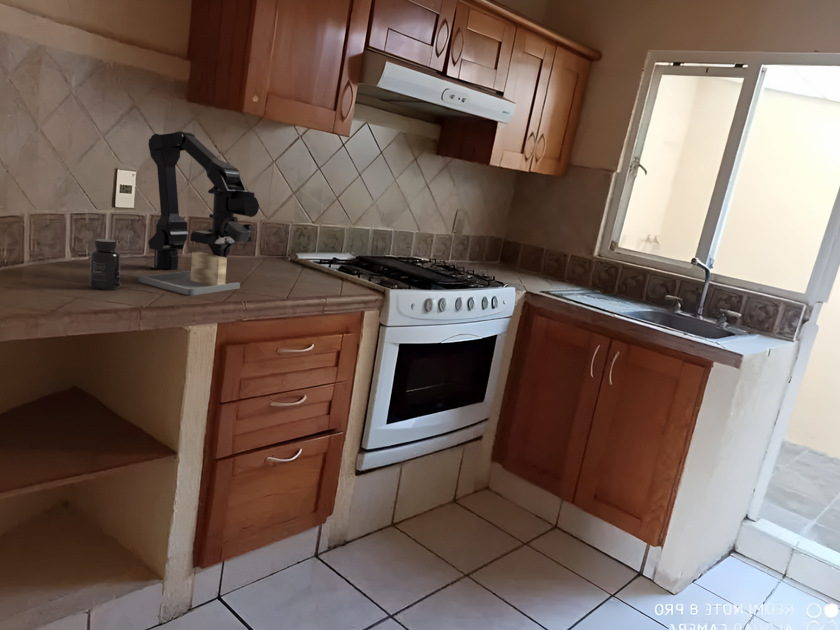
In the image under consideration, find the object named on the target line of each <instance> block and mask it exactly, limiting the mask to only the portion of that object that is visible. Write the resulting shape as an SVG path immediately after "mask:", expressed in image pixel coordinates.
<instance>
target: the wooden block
mask: <svg viewBox="0 0 840 630" xmlns="http://www.w3.org/2000/svg"><path fill="white" fill-rule="evenodd" d="M227 261H228V258H227V257H226V258H225V257H220V256H216V255H213V253H212V254H211V253H207V252H203V251H195V252H193V251H192V252H191V263H190V264H191V266H190V267H191V269H190V271H191V281H195V282H199V283H203V284H207V285H211V286H215V285H222V284H226V280H227V279H226V277H227V264H228V263H227Z"/></svg>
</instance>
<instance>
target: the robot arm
mask: <svg viewBox="0 0 840 630" xmlns="http://www.w3.org/2000/svg"><path fill="white" fill-rule="evenodd" d="M148 150H149V153H150V155H149V156H150V157H151V159H152V161H153V162H154V163H155V165H156V168H157V179H158V183H157V184H158V192H159V193H158V194H159V195H158V196H159V204H160V205H159V206H160V216H159V219H158V221H157V222H156V227H155V234H153V235H152V237H151V238H150V239H149V240H148V243H147V244H148V248H149V249H151V250H154V257H153V258H154V260H153V261H154V264H153V265H151V266H149V268H150V269H153V270H157V271H164V272H165V271H166V272H167V271H174V270H175V271H176V270H177V271H178V270H181V269H182V268H181V267H179V253H178V252H179V250H181V251H182V250H183V249H184V247H185V244H186V241H187V239H188V236H189V232H188V222H187V220H183V219H182V218H181V216H180V211H179V199H178V198H179V197H178V186H177V183H178V182H177V171H176V167H177V164H178V163H179V159H180V158H181V152H183V151H185V153H187V154H188V155H189V156H190V157H191V158H193V159H194V161H195V162H197V163H198V164H199V165H200V166H201V167H202V168H203V169H204V170H205V171H206V173H205V174H206V177H207V178H208V179H209V181H210V182H211V183H212V185H213V186H212V187H211V188H210V189H209V190H208V191H207V193H208V194H212V195H213V203H212V213H209V217H208V218H210V219H212V222H211V227H210V228H208V231H205V230H192V232H191V233H190V239H189V240H190V242H193V243H194V242H195V243H198V244H199V243H200V244H203V245H204V244H205V245H208V247H209V250H211V253H212V255H216V256H220V257H225V258H227V257H228V256H229V253H230V251H231V249H232V248H234V247H235V246H237V245H238V244H239V243H241V242H246V243H247V242H248V243H249V242H250V243H251V242H252V237H253V233H254V226H253V225H252V224H251V223H245V224H240V223H239V222H238V221H239V220H238V216H235V215H239V216H243V217H248V218H253V217H255V216H256V215H257V214H258V212H259V209H260V204H259V201H258V199H257V197H256V196H255V192H254V191H248V190H247V188H246V186H245V184H244V182H243V179H242V177H241V173H240V170H239V169H238V168H237V167H235V166H234V165H231V164H230V163H228V162H227V161H224V160H221V159H220V158H218V157H217V156H216V155H215V154H214V153H213V152H211V151H210V149H208V148H207V147H206V145H204V144H203V143H202V141H200V140H199V139H198V138H196V135H195V134H193V133H192V132H189V131H183V130H182V131H181V130H178V131H176V132H171V133H162V134H160V133H154V134H152V135H151V136H150V138H149V139H148Z"/></svg>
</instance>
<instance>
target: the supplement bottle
mask: <svg viewBox="0 0 840 630" xmlns="http://www.w3.org/2000/svg"><path fill="white" fill-rule="evenodd" d="M94 248H95V249H94V250H92V251H91V252H90V254H89V256H90V257H89V258H90V259H89V286H90V287H91V289H95V290H103V291H106V290H107V291H109V290H111V291H112V289H113V290H117V288H118V289H119V288H120V287H121V286H120V284H121V254H120V252H118V251H117V250H116V249H117V240H113V239H106V238H98V239H94Z"/></svg>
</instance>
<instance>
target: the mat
mask: <svg viewBox="0 0 840 630" xmlns="http://www.w3.org/2000/svg"><path fill="white" fill-rule="evenodd" d="M137 282H138V283H141V284H145V285H149V286H153V287H156V288H160V289H163V290H168V291H171V292H174V293H175V292H176V293H178V294H183V295H184V296H185V295H186V296H190V297H192V296H194V297H195V296H198V295H206V294H211V293H212V294H213V293H219V292H225V291H226V292H227V291H232V290H237V289H241V282H230V283H225V284H222V285H215V286H211V285H207V284H203V283H199V282H195V281H191V270H184V271H176V272H175V271H173V272H165V273H164V272H163V273H155V274H145V275H144V274H143V275H138V276H137Z"/></svg>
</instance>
